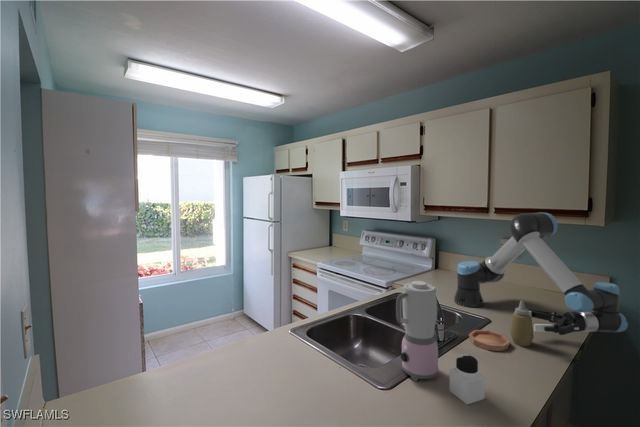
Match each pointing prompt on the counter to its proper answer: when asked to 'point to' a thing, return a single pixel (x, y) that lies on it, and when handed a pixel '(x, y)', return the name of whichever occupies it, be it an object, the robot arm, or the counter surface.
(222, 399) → the counter surface
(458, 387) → the medicine bottle
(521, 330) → the squeeze bottle
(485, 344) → the dish
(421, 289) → the blender
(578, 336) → the counter surface
